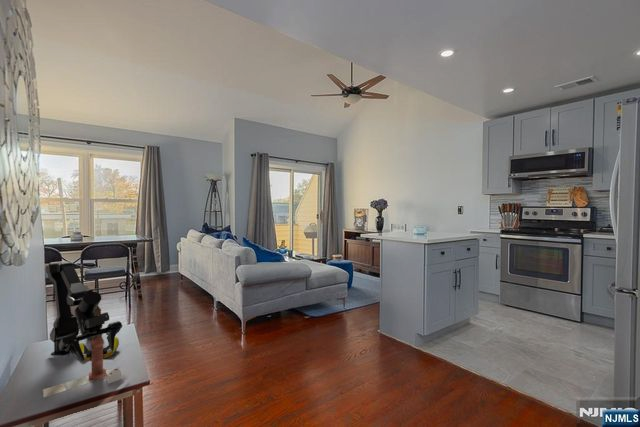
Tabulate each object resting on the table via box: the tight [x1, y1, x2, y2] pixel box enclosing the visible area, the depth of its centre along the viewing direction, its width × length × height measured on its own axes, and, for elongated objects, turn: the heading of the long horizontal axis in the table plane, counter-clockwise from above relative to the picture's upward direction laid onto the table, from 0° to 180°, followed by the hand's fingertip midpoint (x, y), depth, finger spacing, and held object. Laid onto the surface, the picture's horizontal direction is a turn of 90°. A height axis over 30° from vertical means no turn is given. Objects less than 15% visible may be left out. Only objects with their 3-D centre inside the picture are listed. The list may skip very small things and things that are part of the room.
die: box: [105, 367, 122, 385], centre depth 111 cm, size 4×4×4 cm
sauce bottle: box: [86, 305, 103, 341], centre depth 144 cm, size 6×6×20 cm
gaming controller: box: [76, 336, 120, 362], centre depth 129 cm, size 15×6×10 cm
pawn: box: [88, 337, 107, 381], centre depth 112 cm, size 5×5×15 cm
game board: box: [42, 374, 106, 398], centre depth 110 cm, size 19×12×1 cm, turn 135°
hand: (98, 355), depth 111 cm, fingers open, 9 cm apart
